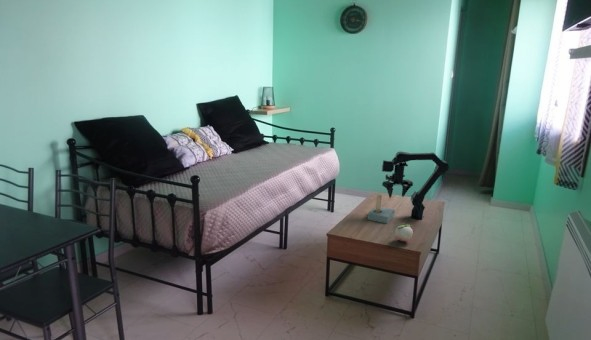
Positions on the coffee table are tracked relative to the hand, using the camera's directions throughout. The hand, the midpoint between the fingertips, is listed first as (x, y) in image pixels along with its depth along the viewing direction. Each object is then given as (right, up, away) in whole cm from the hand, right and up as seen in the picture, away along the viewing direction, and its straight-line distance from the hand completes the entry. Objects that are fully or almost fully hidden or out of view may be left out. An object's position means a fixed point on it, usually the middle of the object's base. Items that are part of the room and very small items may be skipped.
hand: (396, 197), depth 248 cm
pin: (-12, -12, -2) cm, 17 cm away
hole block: (-10, -12, -1) cm, 16 cm away
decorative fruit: (-5, -21, -36) cm, 42 cm away
